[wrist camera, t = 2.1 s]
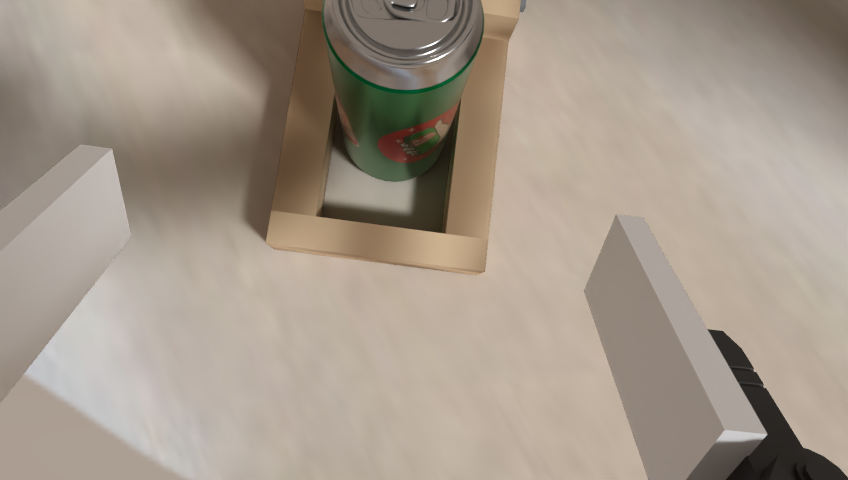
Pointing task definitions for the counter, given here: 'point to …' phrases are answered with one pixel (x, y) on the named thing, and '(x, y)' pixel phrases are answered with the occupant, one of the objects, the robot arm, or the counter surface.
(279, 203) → the oak frame
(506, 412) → the counter surface
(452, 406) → the counter surface
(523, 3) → the rubber mat
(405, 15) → the soda can
